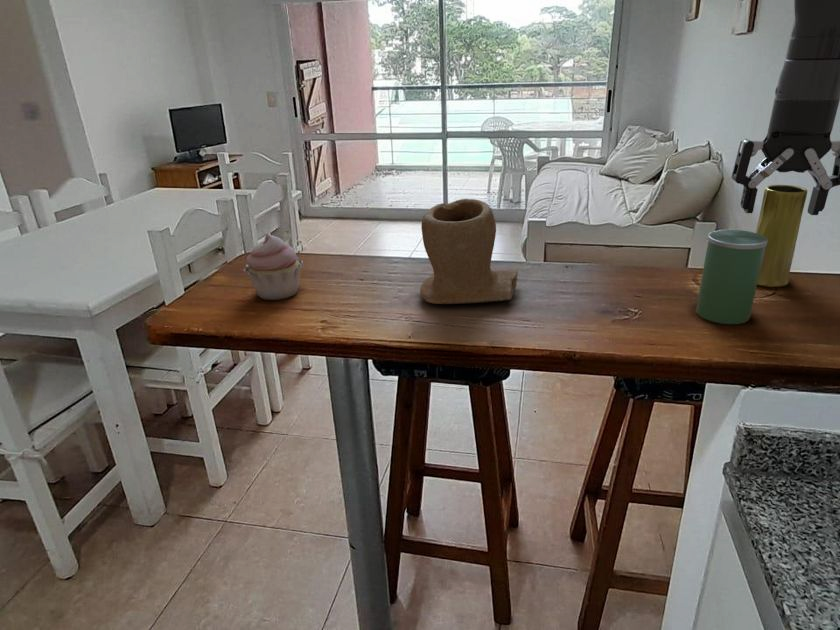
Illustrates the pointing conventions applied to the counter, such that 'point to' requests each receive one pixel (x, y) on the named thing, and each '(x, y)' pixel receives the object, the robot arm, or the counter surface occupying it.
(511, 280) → the stone cup
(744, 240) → the green can
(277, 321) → the counter surface
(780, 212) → the vase
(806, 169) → the robot arm
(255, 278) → the cupcake
